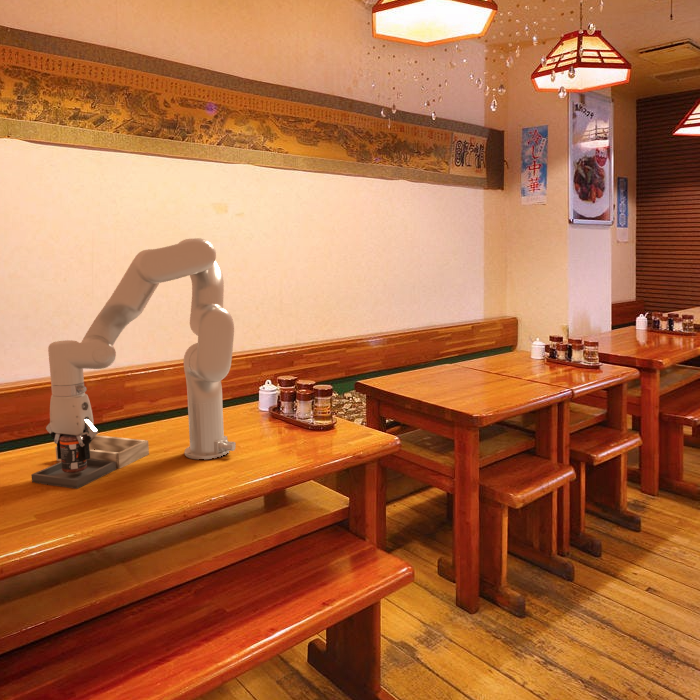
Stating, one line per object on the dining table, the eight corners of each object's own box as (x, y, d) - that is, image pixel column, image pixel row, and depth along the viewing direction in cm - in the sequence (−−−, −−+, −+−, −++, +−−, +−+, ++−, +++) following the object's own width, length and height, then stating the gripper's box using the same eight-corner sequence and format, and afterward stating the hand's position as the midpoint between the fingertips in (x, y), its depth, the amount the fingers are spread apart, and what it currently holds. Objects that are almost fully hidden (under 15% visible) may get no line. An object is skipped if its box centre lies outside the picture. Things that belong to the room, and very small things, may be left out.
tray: (116, 469, 163) (115, 461, 162) (77, 488, 150) (76, 480, 149) (73, 464, 167) (72, 456, 167) (32, 482, 154) (31, 474, 154)
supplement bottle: (81, 473, 155) (77, 430, 153) (57, 473, 155) (53, 430, 153) (91, 465, 161) (88, 423, 159) (68, 465, 161) (65, 423, 159)
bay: (148, 454, 175) (148, 440, 174) (119, 468, 163) (118, 454, 163) (88, 447, 182) (87, 434, 181) (56, 460, 170) (55, 446, 169)
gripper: (106, 388, 156) (111, 457, 159) (52, 384, 161) (58, 451, 164) (85, 395, 149) (91, 466, 152) (29, 390, 154) (35, 460, 157)
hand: (74, 458), depth 158 cm, fingers closed on supplement bottle, 6 cm apart
